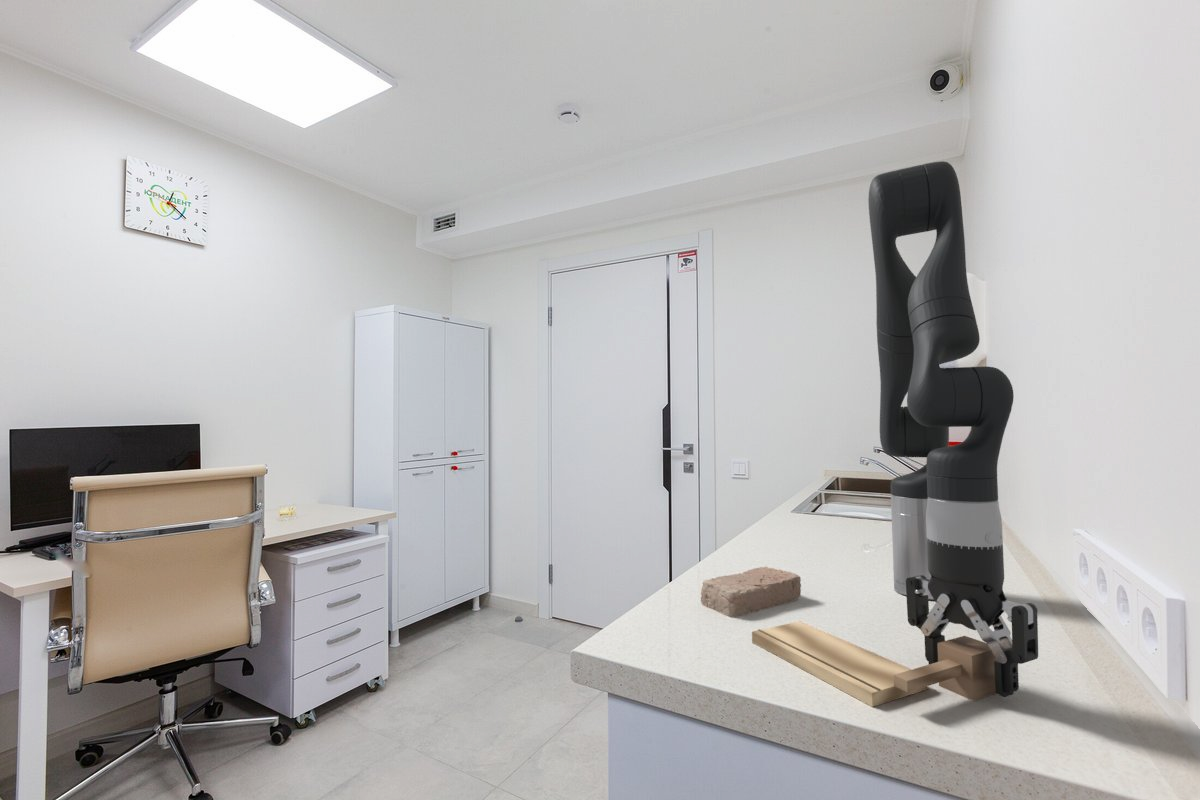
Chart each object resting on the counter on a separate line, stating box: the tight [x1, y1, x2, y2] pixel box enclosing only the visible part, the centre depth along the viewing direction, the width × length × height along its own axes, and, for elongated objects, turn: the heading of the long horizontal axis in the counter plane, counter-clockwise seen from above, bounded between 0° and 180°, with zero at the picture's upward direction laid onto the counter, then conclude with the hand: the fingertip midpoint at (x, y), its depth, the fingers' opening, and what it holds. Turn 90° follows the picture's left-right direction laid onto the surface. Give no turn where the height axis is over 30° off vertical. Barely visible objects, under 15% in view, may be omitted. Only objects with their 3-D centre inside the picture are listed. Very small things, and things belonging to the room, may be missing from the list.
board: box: [751, 621, 928, 708], centre depth 73 cm, size 9×20×2 cm, turn 24°
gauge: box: [894, 635, 997, 702], centre depth 64 cm, size 15×4×5 cm, turn 114°
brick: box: [700, 566, 802, 618], centre depth 98 cm, size 17×8×5 cm, turn 120°
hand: (969, 679), depth 66 cm, fingers open, 7 cm apart
